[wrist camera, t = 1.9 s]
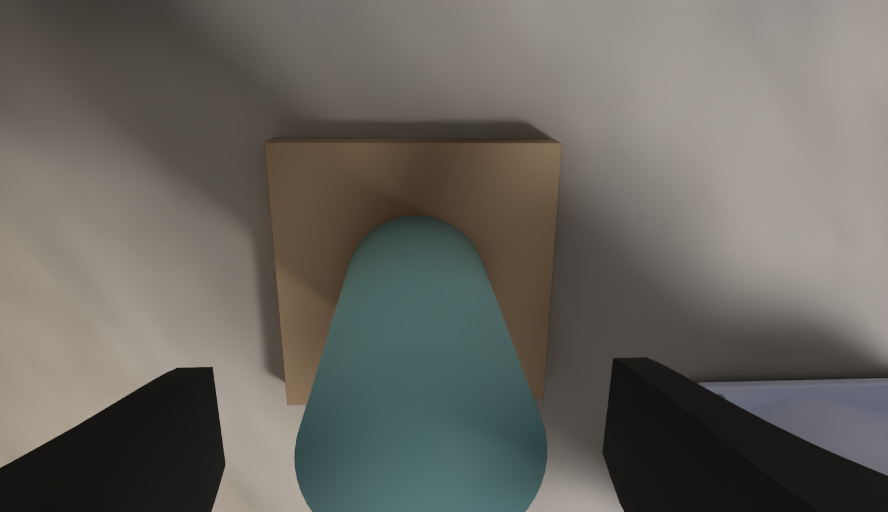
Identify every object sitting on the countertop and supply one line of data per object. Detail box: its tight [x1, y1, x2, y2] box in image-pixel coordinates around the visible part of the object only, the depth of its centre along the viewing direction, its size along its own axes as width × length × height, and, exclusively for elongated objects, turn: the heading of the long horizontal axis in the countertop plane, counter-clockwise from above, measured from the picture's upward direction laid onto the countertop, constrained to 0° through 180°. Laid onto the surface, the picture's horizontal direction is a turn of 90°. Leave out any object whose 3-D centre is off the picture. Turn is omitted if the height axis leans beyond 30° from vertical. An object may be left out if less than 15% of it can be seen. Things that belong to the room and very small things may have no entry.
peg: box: [295, 215, 547, 512], centre depth 13 cm, size 4×4×8 cm
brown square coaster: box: [264, 138, 562, 405], centre depth 17 cm, size 8×8×1 cm
